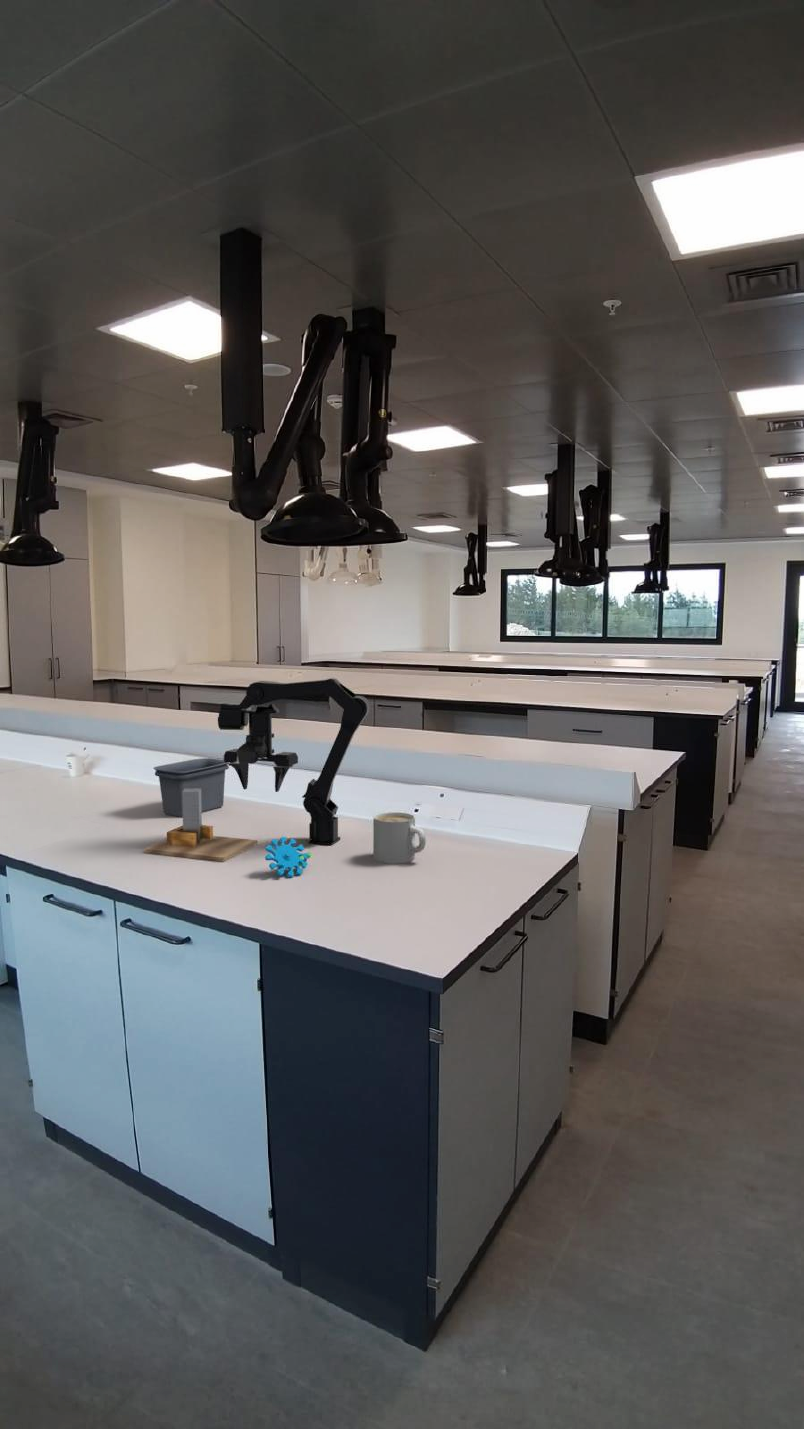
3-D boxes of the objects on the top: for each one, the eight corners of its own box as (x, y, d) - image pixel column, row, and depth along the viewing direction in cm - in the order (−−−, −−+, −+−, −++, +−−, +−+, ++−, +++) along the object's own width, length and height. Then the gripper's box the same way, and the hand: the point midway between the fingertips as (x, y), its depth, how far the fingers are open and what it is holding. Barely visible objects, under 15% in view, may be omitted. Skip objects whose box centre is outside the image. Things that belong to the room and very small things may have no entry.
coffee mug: (364, 857, 181) (364, 816, 180) (393, 849, 188) (393, 810, 187) (405, 869, 172) (405, 826, 171) (434, 860, 179) (434, 819, 178)
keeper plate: (257, 844, 192) (257, 828, 191) (223, 861, 177) (223, 845, 176) (183, 836, 199) (182, 821, 198) (144, 852, 184) (144, 836, 183)
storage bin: (180, 821, 215) (179, 771, 213) (145, 813, 223) (143, 766, 222) (235, 807, 233) (234, 761, 231) (200, 800, 241) (199, 756, 240)
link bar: (202, 838, 193) (201, 788, 192) (199, 842, 189) (198, 791, 188) (186, 838, 193) (184, 788, 191) (183, 843, 189) (182, 792, 187)
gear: (270, 874, 162) (263, 834, 168) (261, 888, 166) (254, 848, 172) (317, 873, 168) (309, 835, 174) (308, 886, 172) (299, 848, 178)
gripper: (211, 732, 188) (212, 794, 190) (278, 736, 182) (278, 799, 184) (234, 727, 199) (235, 785, 200) (298, 730, 193) (299, 790, 195)
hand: (261, 790), depth 195 cm, fingers open, 9 cm apart
